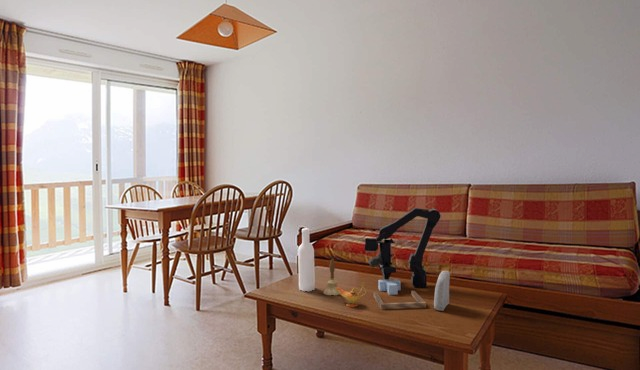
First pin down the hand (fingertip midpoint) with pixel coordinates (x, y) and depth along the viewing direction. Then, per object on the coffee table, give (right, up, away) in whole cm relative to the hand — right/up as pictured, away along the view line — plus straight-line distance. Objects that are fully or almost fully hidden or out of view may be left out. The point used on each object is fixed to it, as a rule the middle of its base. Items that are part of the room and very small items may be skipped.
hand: (386, 282), depth 193 cm
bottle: (-40, -2, -4) cm, 40 cm away
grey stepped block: (0, -2, -10) cm, 10 cm away
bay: (+1, -2, -25) cm, 25 cm away
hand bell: (-28, -2, -11) cm, 30 cm away
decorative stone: (+18, -2, -33) cm, 37 cm away
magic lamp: (-21, -3, -27) cm, 34 cm away
